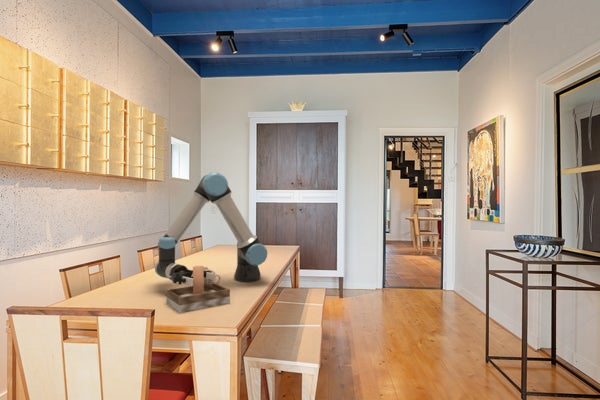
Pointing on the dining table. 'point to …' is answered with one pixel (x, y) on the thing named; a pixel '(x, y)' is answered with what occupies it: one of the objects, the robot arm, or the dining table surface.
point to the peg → (198, 280)
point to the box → (197, 297)
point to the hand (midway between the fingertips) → (203, 279)
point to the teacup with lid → (207, 281)
